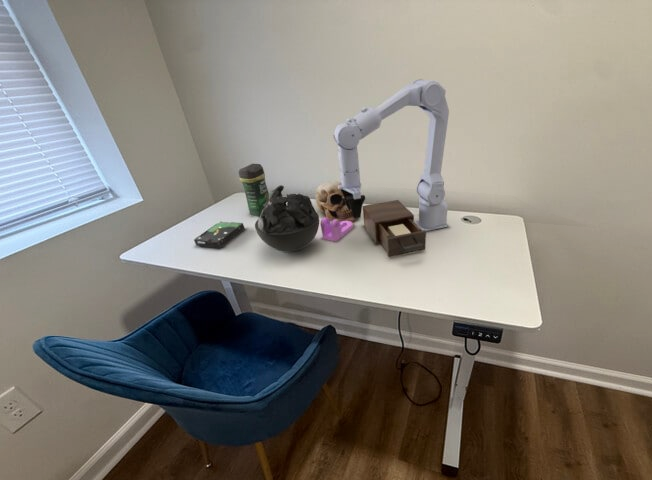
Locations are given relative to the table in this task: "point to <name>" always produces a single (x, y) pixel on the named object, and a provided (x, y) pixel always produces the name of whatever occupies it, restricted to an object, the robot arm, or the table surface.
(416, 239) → the drawer
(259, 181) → the coffee jar
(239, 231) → the disk drive
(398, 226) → the beige rectangular block
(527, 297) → the table surface
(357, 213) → the robot arm
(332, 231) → the bracket
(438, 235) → the table surface
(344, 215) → the skull
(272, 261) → the table surface
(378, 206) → the cabinet
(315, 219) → the bowl of black rocks
